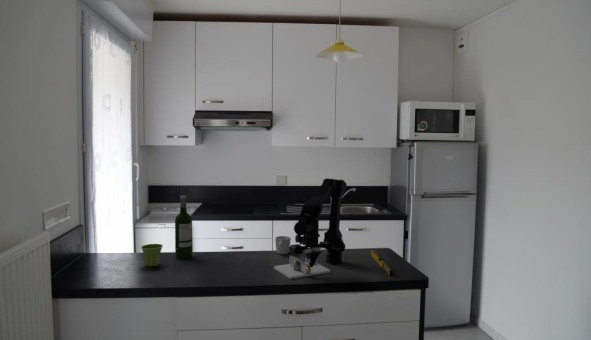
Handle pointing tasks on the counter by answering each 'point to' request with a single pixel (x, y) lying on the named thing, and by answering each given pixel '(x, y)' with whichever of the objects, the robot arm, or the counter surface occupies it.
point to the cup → (282, 244)
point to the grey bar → (299, 265)
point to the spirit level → (381, 263)
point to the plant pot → (152, 254)
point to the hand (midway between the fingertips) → (311, 267)
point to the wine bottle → (183, 232)
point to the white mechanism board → (292, 273)
